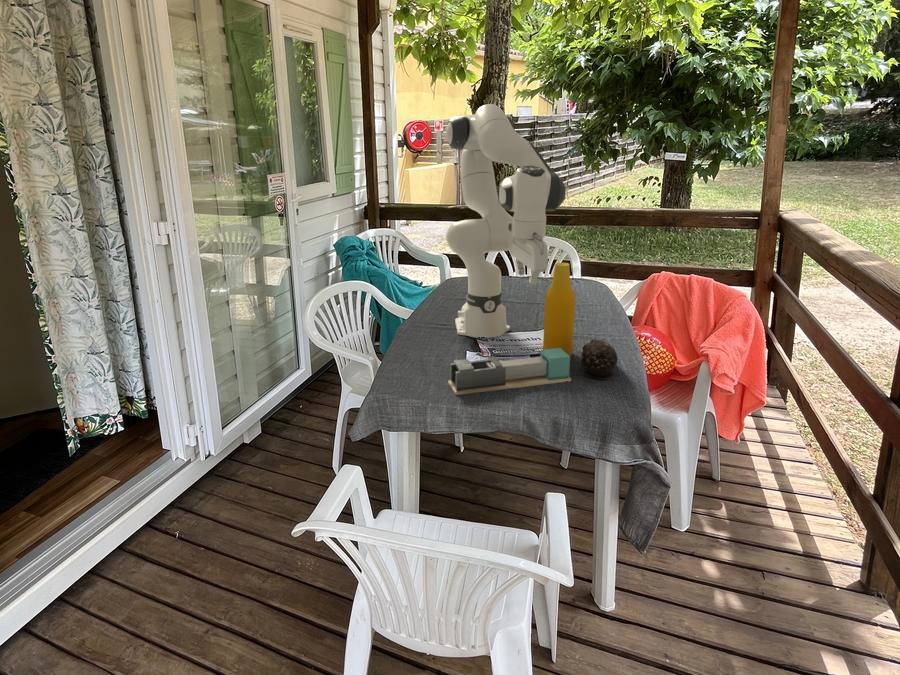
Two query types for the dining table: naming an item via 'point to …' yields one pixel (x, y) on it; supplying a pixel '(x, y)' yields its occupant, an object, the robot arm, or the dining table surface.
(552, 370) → the teal cube
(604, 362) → the pine cone
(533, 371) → the slip tube
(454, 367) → the sleeve
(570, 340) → the beer bottle
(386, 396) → the dining table surface
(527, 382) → the board
